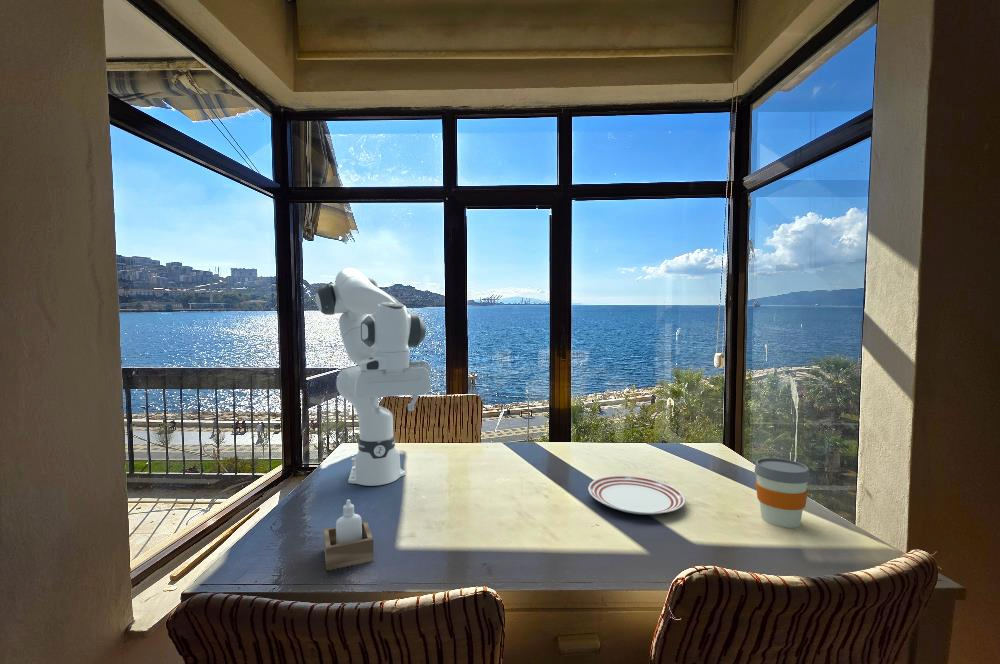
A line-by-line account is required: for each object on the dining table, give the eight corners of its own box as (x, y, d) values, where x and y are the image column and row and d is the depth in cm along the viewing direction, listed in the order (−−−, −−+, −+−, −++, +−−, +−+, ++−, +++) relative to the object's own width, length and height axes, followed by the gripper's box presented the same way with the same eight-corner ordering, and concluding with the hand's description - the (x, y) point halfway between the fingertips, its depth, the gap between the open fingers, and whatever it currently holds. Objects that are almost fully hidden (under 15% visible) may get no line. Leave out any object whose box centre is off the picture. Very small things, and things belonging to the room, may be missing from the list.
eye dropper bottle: (339, 547, 109) (338, 497, 108) (363, 545, 110) (362, 495, 109) (334, 556, 105) (333, 504, 104) (360, 555, 105) (359, 503, 105)
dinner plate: (687, 492, 143) (687, 482, 143) (681, 530, 119) (682, 517, 118) (599, 479, 155) (599, 470, 155) (577, 511, 130) (577, 500, 130)
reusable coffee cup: (790, 535, 115) (791, 476, 115) (743, 515, 126) (744, 461, 126) (818, 524, 121) (820, 467, 121) (771, 506, 132) (772, 454, 132)
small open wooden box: (324, 549, 110) (323, 529, 110) (367, 541, 114) (367, 521, 114) (326, 571, 101) (326, 548, 100) (373, 560, 105) (373, 539, 104)
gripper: (427, 358, 133) (428, 406, 133) (353, 362, 124) (354, 413, 125) (433, 360, 127) (433, 410, 127) (355, 364, 119) (356, 417, 119)
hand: (393, 412), depth 126 cm, fingers open, 8 cm apart
